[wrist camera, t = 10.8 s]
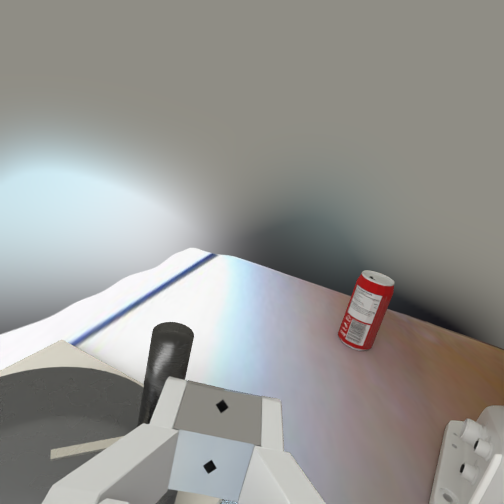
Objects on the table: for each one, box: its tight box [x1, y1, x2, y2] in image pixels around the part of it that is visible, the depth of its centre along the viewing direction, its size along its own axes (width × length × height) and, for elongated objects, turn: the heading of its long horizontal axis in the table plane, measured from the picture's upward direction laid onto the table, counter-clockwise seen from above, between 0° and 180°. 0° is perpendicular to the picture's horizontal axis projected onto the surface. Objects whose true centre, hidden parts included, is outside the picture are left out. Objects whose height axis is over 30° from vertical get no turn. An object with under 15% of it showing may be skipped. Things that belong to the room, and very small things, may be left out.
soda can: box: [338, 270, 394, 351], centre depth 57 cm, size 6×6×12 cm
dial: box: [0, 322, 194, 504], centre depth 25 cm, size 20×20×12 cm
